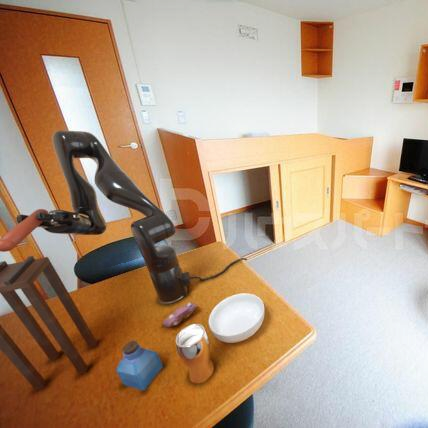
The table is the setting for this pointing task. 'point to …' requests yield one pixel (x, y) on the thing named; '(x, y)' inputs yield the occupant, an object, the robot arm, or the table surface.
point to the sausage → (20, 231)
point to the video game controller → (179, 314)
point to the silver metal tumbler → (195, 352)
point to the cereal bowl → (237, 317)
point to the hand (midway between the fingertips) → (29, 217)
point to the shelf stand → (23, 279)
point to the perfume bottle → (138, 366)
